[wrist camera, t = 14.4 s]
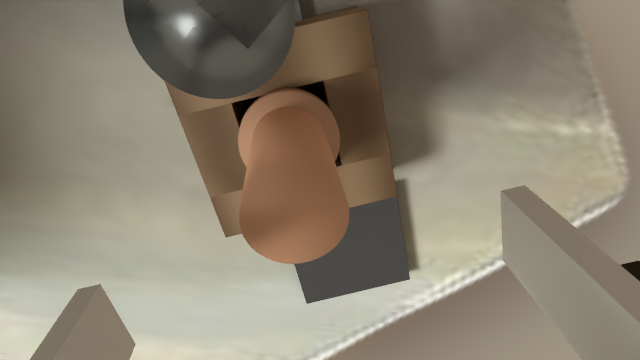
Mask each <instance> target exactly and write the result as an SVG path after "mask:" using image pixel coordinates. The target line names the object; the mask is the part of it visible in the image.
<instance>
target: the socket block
mask: <svg viewBox="0 0 640 360" xmlns="http://www.w3.org/2000/svg"><path fill="white" fill-rule="evenodd" d="M294 8H295V29H294V36H293V40H292V44H291V47H290V50H289V52H288V55H287V57H286V59H285V60H284V62H283V64H282V66H281V67H280V68H279V70H278V71H277V72H276V73H275V75H274V76H273V77H271V78H270V79H269V80H268V81H267V82H266V83H265V84H263V85H262V86H261V87H259V88H257V89H256V90H254V91H252V92H250V93H247V94H245V95H242V96H238V97H234V98H227V99H209V98H202V97H198V96H194V95H191V94H188V93H186V92H183V91H181V90H179V89H177V88H176V87H174V86H172V85H170V84H169V83H168V82H166V81H165V80H164V81H165V83H166V86H167V88H168V91H169V93H170V96H171V98H172V101H173V104H174V106H175V109H176V111H177V114H178V116H179V119H180V122H181V124H182V127H183V129H184V132H185V134H186V137H187V139H188V142H189V145H190V147H191V150H192V152H193V155H194V157H195V160H196V162H197V165H198V168H199V170H200V173H201V175H202V178H203V180H204V183H205V186H206V188H207V191H208V193H209V196H210V198H211V201H212V203H213V206H214V209H215V211H216V214H217V216H218V219H219V221H220V224H221V226H222V229H223V232H224V234H225V237H230V236H234V235H238V234H242V232H241V229H240V225H239V210H240V204H241V198H242V192H243V187H244V181H245V175H246V170H247V167H246V166H245V164H244V162H243V160H242V158H241V155H240V152H239V147H238V134H239V128H240V125H241V122H242V118H243V116H244V114H245V111H244V108H243V105H242V100H246V99H250V98H254V97H258V96H262V95H264V94H266V93H268V92H270V91H273V90H277V89H282V88H295V87H299V86H303V85H307V84H311V83H315V82H319V81H321V84H322V89H323V94H324V98H325V103H326V105H327V106H328V107H329V109H330V110H331V112H332V113H333V115H334V118H335V120H336V122H337V125H338V128H339V132H340V148H339V152H338V156H337V158H336V161H335V164H336V167H337V170H338V173H339V177H340V180H341V183H342V186H343V189H344V192H345V196H346V199H347V202H348V205H349V208H350V207H354V206H359V205H363V204H367V203H371V202H375V201H379V200H384V199H388V198H392V197H396V196H397V191H396V185H395V179H394V172H393V166H392V160H391V153H390V147H389V141H388V135H387V128H386V122H385V116H384V109H383V103H382V97H381V90H380V84H379V78H378V71H377V65H376V59H375V52H374V46H373V40H372V34H371V27H370V21H369V15H368V10H367V9H363V8H360V7H357V6H354V7H350V8H346V9H342V10H338V11H334V12H330V13H326V14H322V15H318V16H314V17H310V18H306V19H303V18H302V14H301V10H300V5H299V1H298V0H294Z"/></svg>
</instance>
